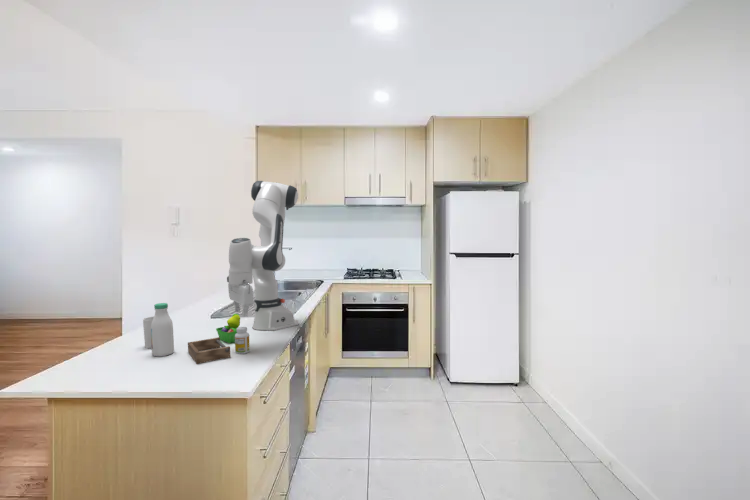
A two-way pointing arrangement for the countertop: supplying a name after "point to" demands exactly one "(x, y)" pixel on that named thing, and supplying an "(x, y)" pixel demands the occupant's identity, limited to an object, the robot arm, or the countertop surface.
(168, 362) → the countertop surface
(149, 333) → the mug
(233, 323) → the fruit basket
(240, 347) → the supplement bottle
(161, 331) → the milk bottle
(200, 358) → the wooden bar rack
